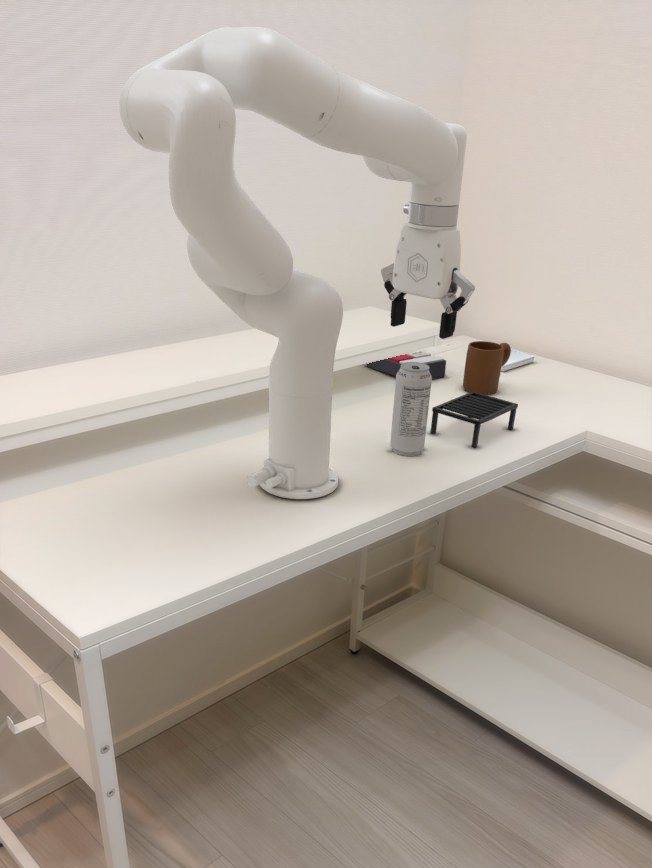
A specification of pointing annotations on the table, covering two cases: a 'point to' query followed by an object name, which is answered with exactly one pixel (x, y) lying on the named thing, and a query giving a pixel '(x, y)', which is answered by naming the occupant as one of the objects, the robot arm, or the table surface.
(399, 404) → the energy drink can
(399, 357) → the calculator
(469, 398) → the rack
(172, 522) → the table surface
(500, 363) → the mug
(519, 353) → the hard drive
